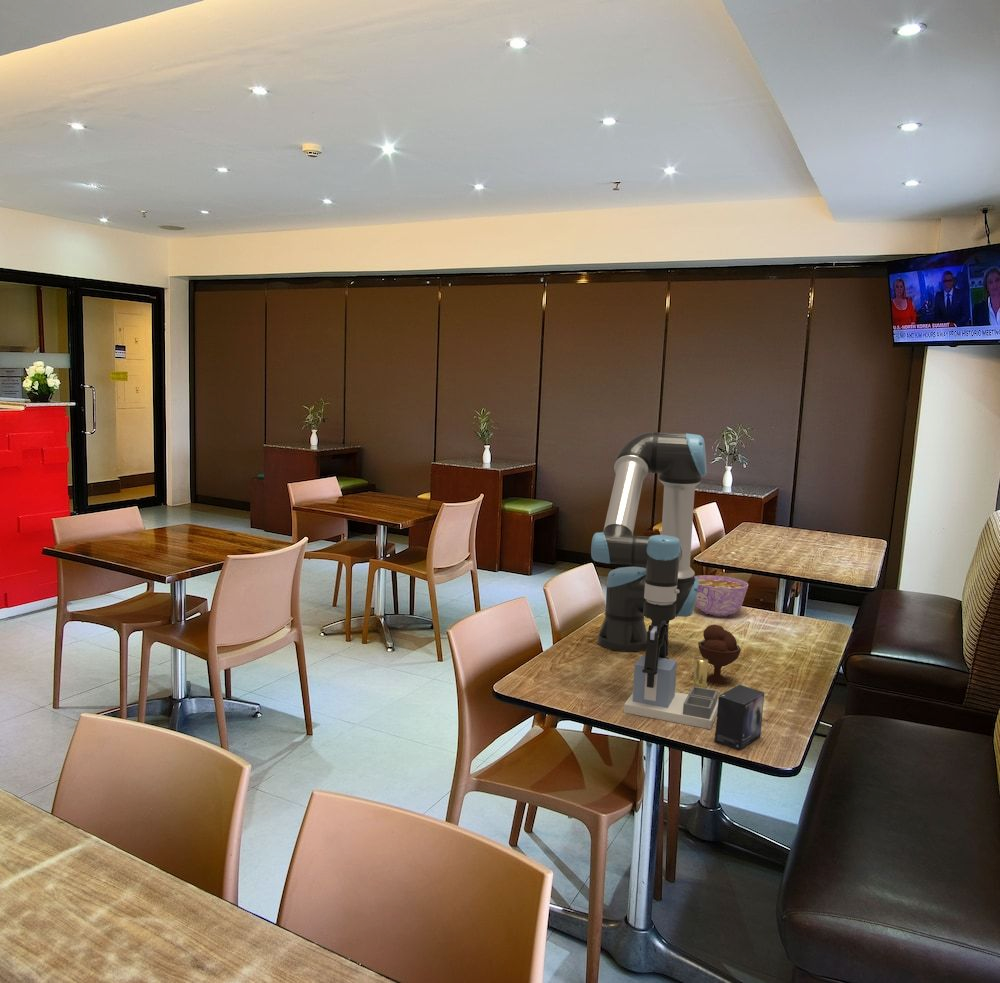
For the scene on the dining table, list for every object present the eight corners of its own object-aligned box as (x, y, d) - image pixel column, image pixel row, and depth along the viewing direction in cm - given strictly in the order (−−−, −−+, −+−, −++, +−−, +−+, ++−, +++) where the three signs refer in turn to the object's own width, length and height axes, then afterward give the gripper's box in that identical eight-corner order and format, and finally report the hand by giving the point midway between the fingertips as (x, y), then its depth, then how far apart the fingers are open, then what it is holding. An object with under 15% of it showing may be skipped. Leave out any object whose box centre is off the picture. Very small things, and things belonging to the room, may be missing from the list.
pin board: (623, 712, 185) (625, 675, 184) (637, 693, 198) (639, 658, 197) (710, 729, 177) (713, 690, 176) (719, 708, 190) (721, 672, 189)
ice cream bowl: (716, 690, 202) (720, 633, 200) (687, 676, 212) (690, 621, 210) (746, 684, 207) (751, 629, 205) (717, 671, 217) (720, 618, 215)
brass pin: (691, 699, 195) (693, 660, 194) (693, 695, 198) (696, 656, 197) (704, 701, 194) (707, 662, 193) (706, 697, 197) (709, 658, 196)
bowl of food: (689, 618, 269) (691, 585, 268) (685, 604, 289) (687, 573, 288) (750, 623, 266) (752, 590, 265) (742, 608, 286) (744, 577, 284)
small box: (741, 751, 166) (745, 703, 165) (713, 741, 171) (716, 695, 170) (762, 737, 174) (766, 691, 173) (734, 728, 179) (738, 683, 177)
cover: (632, 701, 187) (634, 664, 186) (640, 689, 194) (642, 654, 193) (667, 707, 184) (670, 670, 183) (674, 696, 191) (677, 660, 190)
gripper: (667, 613, 175) (660, 711, 178) (684, 593, 195) (678, 682, 197) (633, 609, 178) (628, 705, 181) (654, 589, 197) (648, 677, 200)
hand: (654, 693), depth 189 cm, fingers closed on cover, 8 cm apart
